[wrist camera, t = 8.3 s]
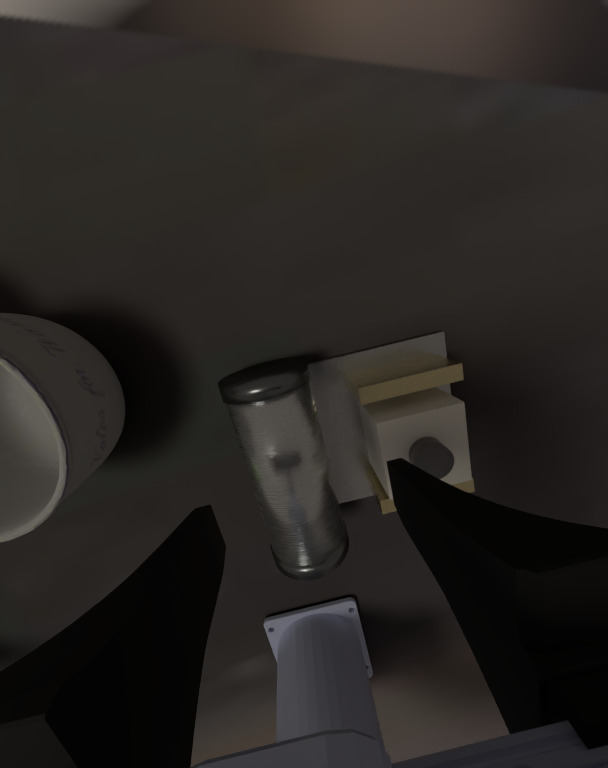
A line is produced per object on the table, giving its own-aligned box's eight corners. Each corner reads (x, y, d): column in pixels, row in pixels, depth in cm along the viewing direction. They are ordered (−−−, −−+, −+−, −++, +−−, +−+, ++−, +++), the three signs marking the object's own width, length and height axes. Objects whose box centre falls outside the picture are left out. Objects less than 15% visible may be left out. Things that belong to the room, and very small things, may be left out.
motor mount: (456, 478, 24) (508, 531, 18) (270, 524, 24) (266, 591, 18) (438, 319, 20) (495, 324, 15) (222, 371, 20) (199, 396, 15)
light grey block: (436, 446, 22) (484, 491, 17) (369, 462, 22) (397, 513, 17) (427, 382, 21) (477, 409, 16) (357, 399, 21) (383, 432, 15)
